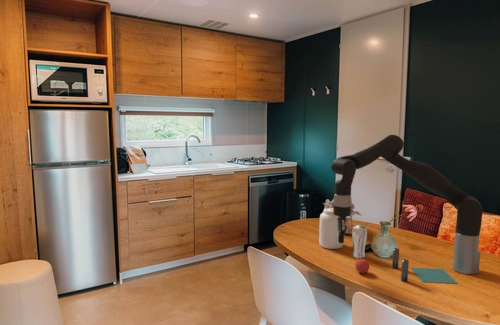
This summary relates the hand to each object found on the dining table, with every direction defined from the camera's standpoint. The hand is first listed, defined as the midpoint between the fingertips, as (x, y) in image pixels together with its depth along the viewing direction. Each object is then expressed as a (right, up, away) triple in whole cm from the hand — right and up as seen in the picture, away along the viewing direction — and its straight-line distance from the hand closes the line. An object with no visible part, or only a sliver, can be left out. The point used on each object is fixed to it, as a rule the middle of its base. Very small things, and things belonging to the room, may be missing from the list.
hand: (340, 242), depth 157 cm
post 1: (+26, -13, +5) cm, 30 cm away
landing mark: (+39, -14, -3) cm, 42 cm away
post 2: (+25, -14, -8) cm, 30 cm away
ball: (+10, -10, 0) cm, 14 cm away
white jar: (+3, -10, +34) cm, 36 cm away
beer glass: (+14, -11, +19) cm, 26 cm away
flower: (+15, -6, +60) cm, 62 cm away
